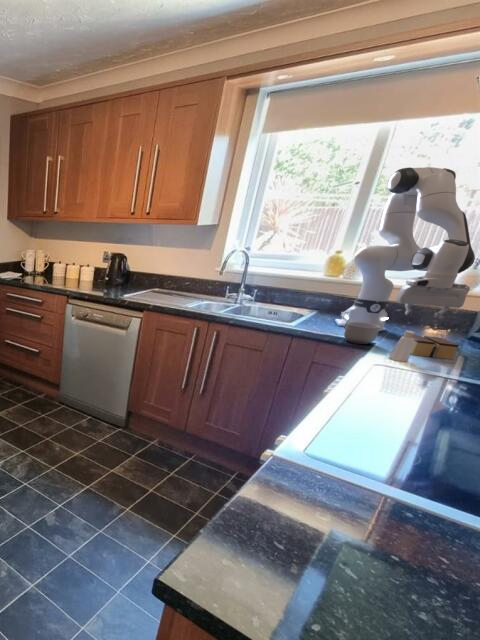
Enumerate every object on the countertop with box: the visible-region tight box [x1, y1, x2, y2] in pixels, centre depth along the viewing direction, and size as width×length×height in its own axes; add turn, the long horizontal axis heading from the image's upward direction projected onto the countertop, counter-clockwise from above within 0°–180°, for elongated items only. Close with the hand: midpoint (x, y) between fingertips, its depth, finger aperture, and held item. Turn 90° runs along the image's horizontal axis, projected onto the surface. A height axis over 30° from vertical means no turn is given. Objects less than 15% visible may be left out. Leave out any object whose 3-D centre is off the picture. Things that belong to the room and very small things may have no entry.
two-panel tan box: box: [401, 333, 459, 360], centre depth 170 cm, size 12×12×6 cm
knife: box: [429, 345, 439, 359], centre depth 174 cm, size 22×2×4 cm, turn 157°
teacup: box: [343, 321, 380, 345], centre depth 184 cm, size 14×11×8 cm
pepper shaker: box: [388, 330, 416, 363], centre depth 159 cm, size 5×5×11 cm
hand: (422, 315), depth 176 cm, fingers open, 8 cm apart
